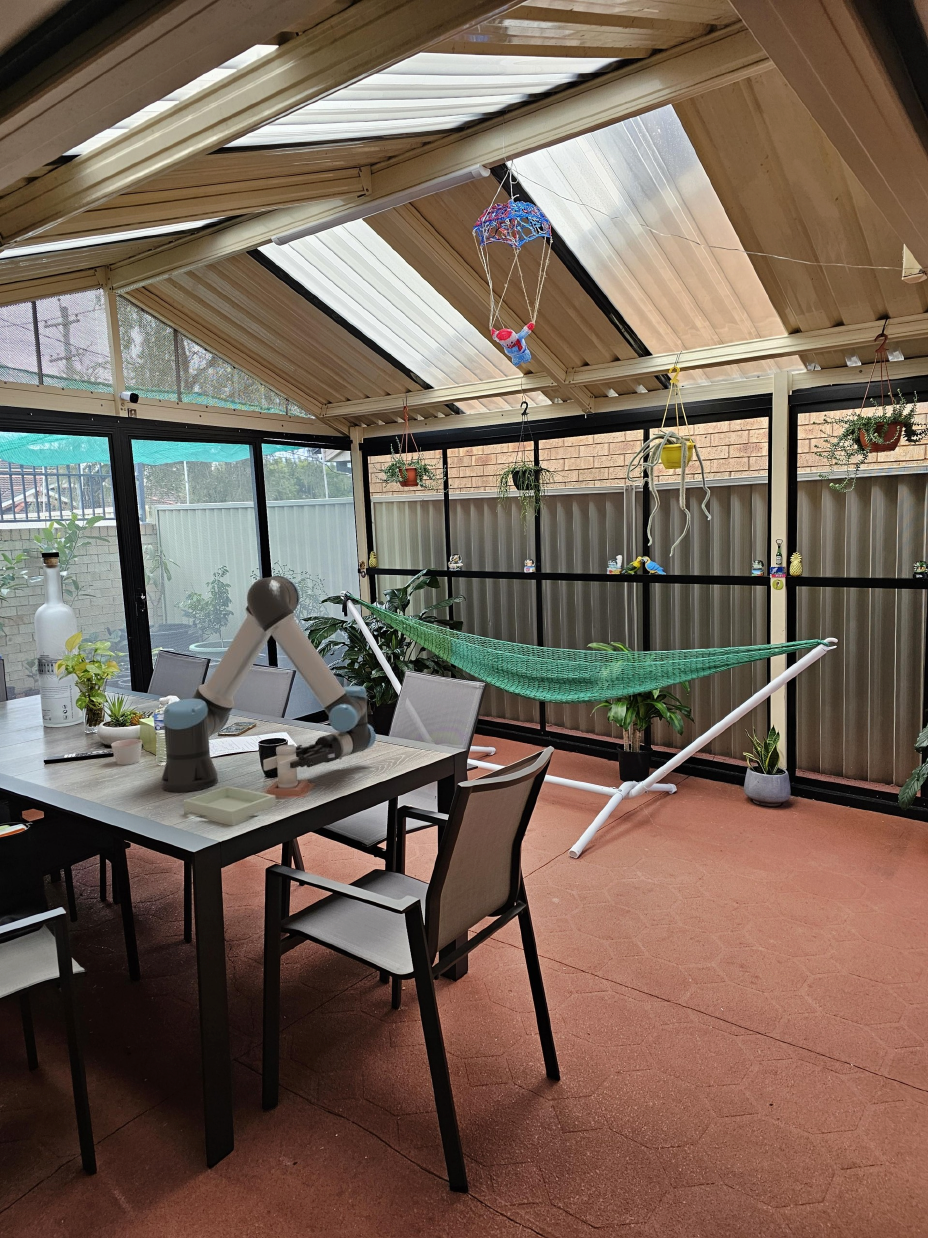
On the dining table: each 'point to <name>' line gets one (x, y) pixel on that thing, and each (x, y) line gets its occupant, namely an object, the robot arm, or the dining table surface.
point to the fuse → (288, 777)
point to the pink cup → (127, 751)
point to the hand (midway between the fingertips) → (272, 766)
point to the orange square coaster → (290, 790)
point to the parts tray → (229, 805)
